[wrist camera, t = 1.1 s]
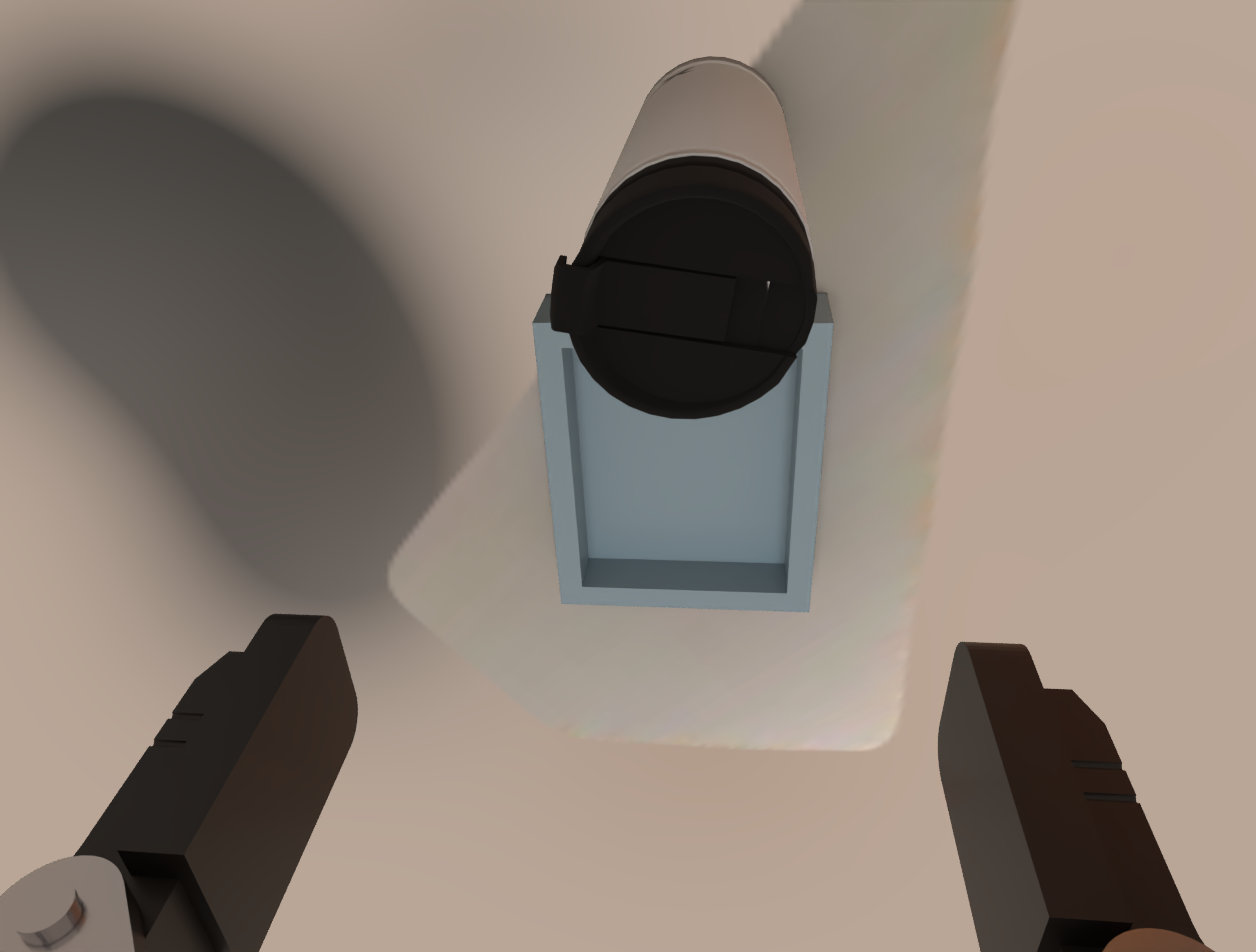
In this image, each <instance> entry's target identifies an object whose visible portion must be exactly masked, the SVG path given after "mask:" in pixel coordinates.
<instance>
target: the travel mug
mask: <svg viewBox="0 0 1256 952" xmlns="http://www.w3.org/2000/svg"><path fill="white" fill-rule="evenodd" d="M566 260H567V256H562V255H561V256H560V257H559V259H558V261H557V263H556V265H555V267H554V275H553V283H552V291H551V304H550V321H551V329H552V330H554V331H556V332H563V333H569V335H570V338H571V341H572V345H573V347H574V349H575V351H576V354H577V356H578V358H579V360H580V362H581V363H582V365H583V366H584V367H585V369H586V370H587V372H588V373H589V374H590V376H591V377H592V378H593V380H594V381H595V382H597V383H598V384H599V385H600V386H601V387H602V388H603V389H604V390H605V391H606V392H607V393H609V394H610V395H611V396H613V397H614V398H616V399H618V400H619V401H621V402H623V403H624V404H626V405H627V406H629V407H632V408H634V409H637V410H640V411H642V412H645V413H647V414H650V415H655V416H660V417H665V418H670V419H701V418H707V417H714V416H719V415H722V414H725V413H728V412H731V411H734V410H738V409H740V408H742V407H744V406H746V405H748V404H750V403H752V402H754V401H756V400H757V399H759V398H761V397H762V396H764V395H765V394H766V393H767V392H769V391H770V390H771V389H773V388H774V387H775V386H777V385H778V384H779V383H780V381H781V380H782V378H783V377H784V376H785V374H786V373H787V371H788V370H789V368H790V367H791V365H792V364H793V362H794V361H795V359H796V358H797V355H796V354H797V353H798V351H799V350H800V349H801V348H802V347H803V346H804V345H805V344H806V342H807V339H808V337H809V334H810V331H811V328H812V326H813V323H814V318H815V312H816V305H817V290H816V280H815V270H814V262H813V247H812V242H811V238H810V233H809V228H808V223H807V219H806V214H805V209H804V205H803V200H802V196H801V191H800V186H799V182H798V177H797V172H796V168H795V163H794V159H793V154H792V149H791V145H790V140H789V135H788V131H787V126H786V122H785V117H784V114H783V110H782V106H781V103H780V101H779V99H778V97H777V95H776V93H775V91H774V89H773V88H772V87H771V86H770V84H769V83H768V82H767V81H766V79H765V78H764V77H763V76H761V75H760V74H759V73H758V72H757V71H755V70H754V69H753V68H751V67H749V66H747V65H745V64H744V63H742V62H740V61H736V60H733V59H729V58H725V57H703V58H697V59H693V60H690V61H688V62H685V63H682V64H680V65H678V66H677V67H675V68H674V69H672V70H670V71H669V72H667V73H666V74H665V75H664V76H663V77H662V78H661V79H660V80H659V81H658V82H657V83H656V84H655V85H654V87H653V88H652V90H651V91H650V93H649V94H648V95H647V97H646V99H645V101H644V104H643V106H642V108H641V111H640V113H639V115H638V117H637V119H636V121H635V124H634V126H633V128H632V130H631V132H630V135H629V137H628V139H627V142H626V144H625V146H624V148H623V150H622V152H621V155H620V157H619V159H618V161H617V164H616V166H615V168H614V170H613V172H612V175H611V177H610V179H609V181H608V183H607V186H606V188H605V190H604V192H603V195H602V197H601V199H600V201H599V204H598V206H597V208H596V210H595V212H594V215H593V217H592V219H591V221H590V224H589V226H588V228H587V231H586V233H585V238H584V243H583V245H582V247H581V249H580V252H579V254H578V255H577V257H576V258H575V260H574V262H573V263H572V265H569V264H566Z"/></svg>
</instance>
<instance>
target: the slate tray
mask: <svg viewBox="0 0 1256 952" xmlns="http://www.w3.org/2000/svg"><path fill="white" fill-rule="evenodd" d="M550 304H551V294H546V296H545V298H544V300H543V302H542V304H541V306H540V308H539V310H538V312H537V315H536V317H535V319H534V321H533V333H534V342H535V352H536V362H537V372H538V382H539V391H540V401H541V411H542V420H543V430H544V440H545V449H546V459H547V469H548V479H549V488H550V498H551V508H552V517H553V527H554V537H555V547H556V556H557V566H558V576H559V585H560V595H561V604H582V605H611V606H640V607H669V608H698V609H727V610H757V611H786V612H809V609H810V597H811V585H812V573H813V561H814V549H815V537H816V525H817V514H818V502H819V490H820V478H821V466H822V454H823V442H824V430H825V418H826V407H827V395H828V383H829V371H830V359H831V347H832V335H833V319H832V314H831V310H830V306H829V301H828V297H827V293H817V305H816V312H815V318H814V323H813V326H812V328H811V331H810V334H809V337H808V339H807V342H806V344H805V345H804V346H803V347H802V348H801V349H800V350H799V351H798V353H797V354H796V355H797V358H796V359H795V361H794V362H793V364H792V365H791V367H790V368H789V370H788V371H787V373H786V374H785V376H784V377H783V378H782V380H781V381H780V383H779V384H778V385H777V386H775V387H774V388H773V389H771V390H770V391H769V392H767V393H766V394H765V395H764V396H762V397H761V398H759V399H757V400H756V401H754V402H752V403H750V404H748V405H746V406H744V407H742V408H740V409H738V410H734V411H731V412H728V413H725V414H722V415H719V416H714V417H707V418H701V419H670V418H665V417H660V416H655V415H650V414H647V413H645V412H642V411H640V410H637V409H634V408H632V407H629V406H627V405H626V404H624V403H623V402H621V401H619V400H618V399H616V398H614V397H613V396H611V395H610V394H609V393H607V392H606V391H605V390H604V389H603V388H602V387H601V386H600V385H599V384H598V383H597V382H595V381H594V380H593V378H592V377H591V376H590V374H589V373H588V372H587V370H586V369H585V367H584V366H583V365H582V363H581V362H580V360H579V358H578V356H577V354H576V351H575V349H574V347H573V345H572V341H571V338H570V335H569V333H563V332H556V331H554V330H552V329H551V321H550Z"/></svg>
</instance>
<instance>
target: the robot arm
mask: <svg viewBox="0 0 1256 952" xmlns="http://www.w3.org/2000/svg"><path fill="white" fill-rule="evenodd" d="M172 713H173V716H172V718H171V719H168V720H167V721H166V722H165V724H164V725H163V727H162V728H161V730H160V731H159V733H158V734H157V736H156V737H155V739H154V745H153V746H149V747H148V749H147V750H146V752H145V753H144V755H143V756H142V758H141V759H140V760H139V762H138V763H137V765H136V766H135V768H134V769H133V771H132V772H131V774H130V775H129V777H128V778H127V780H126V781H125V783H124V784H123V786H122V787H121V788H120V790H119V791H118V793H117V794H116V796H115V797H114V799H113V800H112V802H111V803H110V804H109V806H108V807H107V809H106V810H105V812H104V813H103V815H102V816H101V818H100V819H99V821H98V822H97V824H96V825H95V827H94V828H93V829H92V831H91V832H90V834H89V836H88V837H87V838H86V840H85V841H84V843H83V844H82V846H81V847H80V848H79V850H78V851H77V852H76V853H75V855H74V856H73V857H68V858H64V859H60V860H57V861H54V862H52V863H49V864H46V865H44V866H42V867H40V868H39V869H36V870H34V871H33V872H31V873H29V874H28V875H26V876H25V877H23V878H21V879H20V880H19V881H17V882H16V883H15V884H14V885H12V886H11V887H10V888H9V889H7V890H6V891H5V892H4V893H3V894H2V895H1V896H0V952H259V950H260V948H261V945H262V943H263V941H264V939H265V936H266V934H267V932H268V930H269V928H270V925H271V923H272V921H273V918H274V916H275V914H276V912H277V910H278V908H279V905H280V903H281V901H282V899H283V896H284V894H285V892H286V889H287V887H288V885H289V883H290V881H291V878H292V876H293V874H294V872H295V870H296V867H297V865H298V863H299V861H300V858H301V856H302V854H303V852H304V849H305V847H306V845H307V843H308V840H309V838H310V836H311V834H312V831H313V829H314V827H315V825H316V823H317V820H318V818H319V816H320V813H321V811H322V809H323V807H324V805H325V803H326V800H327V798H328V796H329V794H330V791H331V789H332V787H333V785H334V782H335V780H336V778H337V775H338V773H339V771H340V769H341V767H342V764H343V762H344V760H345V758H346V755H347V753H348V751H349V749H350V747H351V744H352V742H353V738H354V735H355V731H356V724H357V716H358V704H357V697H356V692H355V689H354V685H353V682H352V679H351V675H350V671H349V668H348V664H347V661H346V657H345V654H344V650H343V646H342V643H341V639H340V636H339V632H338V628H337V626H336V623H335V621H334V620H333V619H332V618H331V617H330V616H322V615H296V614H295V615H294V614H272V615H270V616H269V617H268V618H266V619H265V621H264V622H263V623H262V625H261V626H260V628H259V629H258V631H257V633H256V634H255V636H254V637H253V639H252V640H251V642H250V643H249V645H248V647H247V648H246V650H245V651H244V652H231V651H229V652H228V653H227V654H225V655H224V656H223V657H222V658H220V659H219V660H218V661H217V662H216V663H214V664H213V665H212V666H211V667H209V668H208V669H207V670H206V671H204V672H203V673H202V674H201V675H200V676H199V677H197V678H196V679H195V680H194V681H193V683H192V684H191V686H190V687H189V689H188V690H187V692H186V693H185V694H184V696H183V697H182V699H181V700H180V702H179V703H178V705H177V706H176V708H175V709H174V711H173V712H172ZM938 759H939V769H940V775H941V781H942V785H943V789H944V794H945V798H946V802H947V807H948V811H949V816H950V820H951V824H952V829H953V833H954V837H955V842H956V846H957V850H958V855H959V859H960V864H961V868H962V872H963V877H964V881H965V885H966V890H967V894H968V898H969V902H970V907H971V911H972V916H973V920H974V925H975V929H976V933H977V938H978V942H979V946H980V951H981V952H1215V951H1213V950H1212V949H1210V948H1209V947H1207V946H1206V945H1204V943H1203V942H1202V940H1201V939H1200V937H1199V935H1198V933H1197V931H1196V929H1195V927H1194V925H1193V923H1192V921H1191V919H1190V917H1189V914H1188V912H1187V910H1186V908H1185V905H1184V903H1183V901H1182V899H1181V896H1180V894H1179V892H1178V889H1177V887H1176V885H1175V883H1174V880H1173V878H1172V876H1171V873H1170V871H1169V869H1168V866H1167V864H1166V862H1165V860H1164V858H1163V855H1162V853H1161V851H1160V848H1159V846H1158V844H1157V841H1156V839H1155V837H1154V835H1153V832H1152V830H1151V828H1150V826H1149V823H1148V821H1147V819H1146V816H1145V814H1144V812H1143V810H1142V807H1141V805H1140V803H1137V802H1136V794H1135V791H1134V789H1133V787H1132V785H1131V782H1130V780H1129V778H1128V775H1127V773H1126V771H1124V770H1122V762H1121V759H1120V757H1119V755H1118V753H1117V750H1116V748H1115V746H1114V744H1113V741H1112V739H1111V737H1110V735H1109V732H1108V730H1107V728H1106V725H1105V724H1104V723H1103V721H1101V719H1100V718H1099V717H1098V716H1097V715H1096V714H1095V713H1094V712H1093V711H1092V710H1091V709H1090V708H1089V707H1088V706H1087V705H1086V704H1085V703H1084V702H1083V701H1082V700H1081V699H1080V698H1079V697H1078V695H1077V694H1076V693H1075V692H1074V691H1073V690H1067V689H1044V688H1043V686H1042V683H1041V681H1040V678H1039V675H1038V673H1037V670H1036V668H1035V665H1034V662H1033V660H1032V657H1031V655H1030V652H1029V651H1028V649H1027V647H1026V646H1024V645H1022V644H1003V643H978V642H977V643H976V642H960V643H959V644H958V645H957V647H956V650H955V654H954V658H953V663H952V668H951V672H950V677H949V682H948V687H947V692H946V696H945V701H944V706H943V711H942V716H941V721H940V726H939V733H938Z"/></svg>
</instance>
